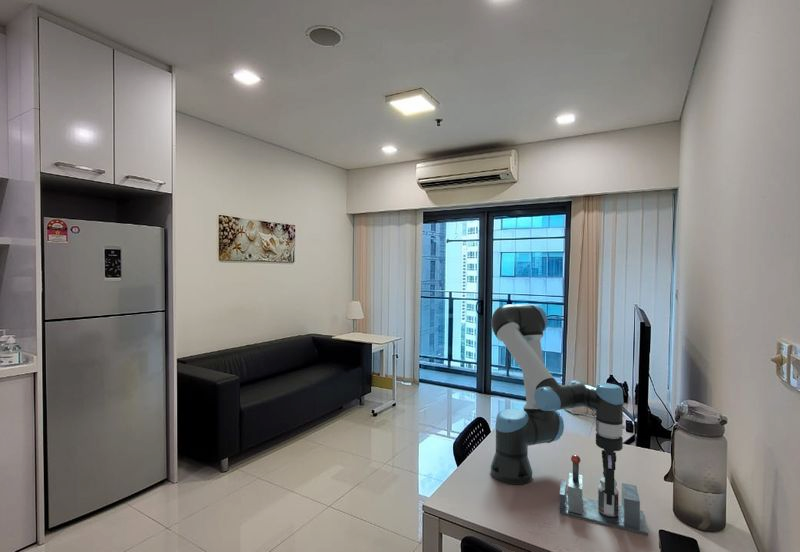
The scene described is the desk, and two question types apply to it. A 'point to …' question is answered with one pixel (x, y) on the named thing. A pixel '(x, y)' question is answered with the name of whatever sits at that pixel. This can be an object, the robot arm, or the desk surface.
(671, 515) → the desk surface
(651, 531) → the desk surface
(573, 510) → the free jaw
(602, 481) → the pill bottle
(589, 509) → the vise body
